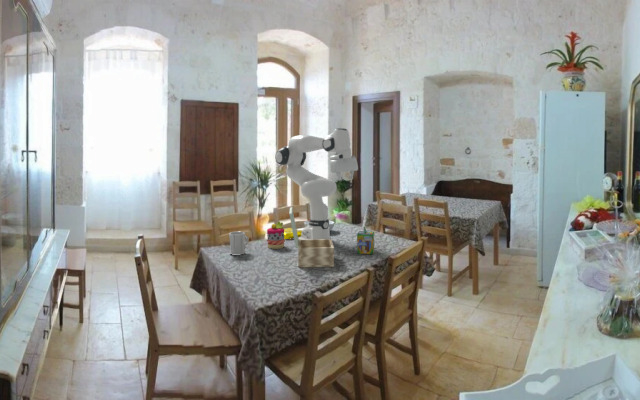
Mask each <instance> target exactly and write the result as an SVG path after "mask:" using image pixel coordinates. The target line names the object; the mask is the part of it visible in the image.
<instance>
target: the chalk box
mask: <svg viewBox="0 0 640 400" xmlns="http://www.w3.org/2000/svg"><path fill="white" fill-rule="evenodd" d="M356 237H357V238H356V242H357V243H356V248H357V250H356V252H357V255H374V252H375V231H370V230H369V231H367V230H366V226H363V231H361V230H360V231H358V232H357V234H356Z"/></svg>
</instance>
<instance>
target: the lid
mask: <svg viewBox="0 0 640 400" xmlns="http://www.w3.org/2000/svg"><path fill="white" fill-rule="evenodd" d="M288 211H289V213H288V214H289V219H290V226H291V228H292V231H293V236H294V239H293V240H294V246H295V249H298V235H297V230H296V229H297V225H296V221H295V216H294V211H293V206H290V208H289V210H288Z"/></svg>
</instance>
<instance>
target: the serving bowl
mask: <svg viewBox="0 0 640 400" xmlns="http://www.w3.org/2000/svg"><path fill="white" fill-rule="evenodd" d="M308 221H309V220H306V221H304V222H303V224H304V228H305V227H307V226H308V225H309V222H308ZM328 227H329V232H330V231H332V230H333V229H334V227H335V221H332V220H329V225H328Z"/></svg>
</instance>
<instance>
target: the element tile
mask: <svg viewBox="0 0 640 400" xmlns="http://www.w3.org/2000/svg"><path fill="white" fill-rule="evenodd" d="M283 229H284V239H289V240H291V239H290V238H294V236H293V231H292V227H286V228H283ZM296 230H297V235H298V237H301V233H302V230H303V229H302V230H301V229H297V228H296Z"/></svg>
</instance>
